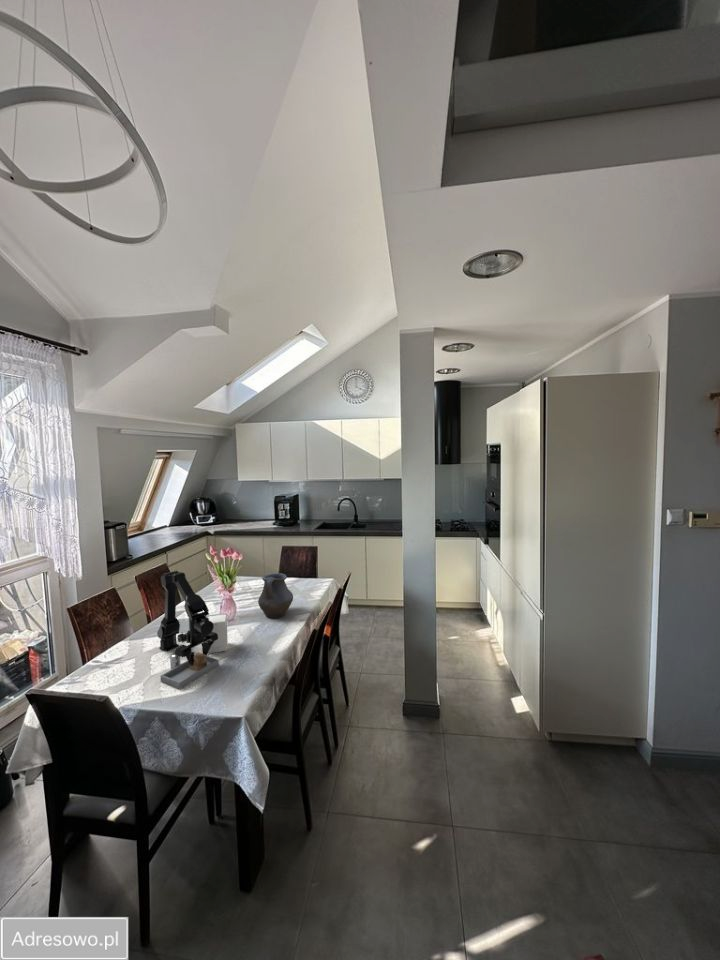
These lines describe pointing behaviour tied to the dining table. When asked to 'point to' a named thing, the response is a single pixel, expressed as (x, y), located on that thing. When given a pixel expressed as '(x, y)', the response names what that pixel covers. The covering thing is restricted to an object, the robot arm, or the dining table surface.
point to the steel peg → (174, 660)
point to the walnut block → (199, 662)
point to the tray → (187, 673)
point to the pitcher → (275, 596)
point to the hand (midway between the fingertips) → (198, 662)
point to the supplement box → (219, 633)
